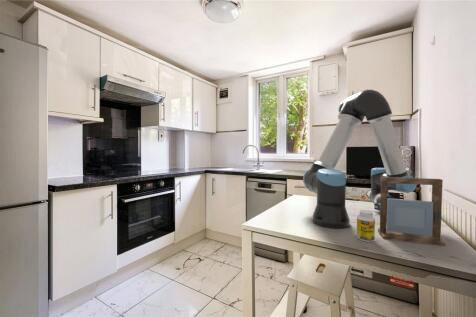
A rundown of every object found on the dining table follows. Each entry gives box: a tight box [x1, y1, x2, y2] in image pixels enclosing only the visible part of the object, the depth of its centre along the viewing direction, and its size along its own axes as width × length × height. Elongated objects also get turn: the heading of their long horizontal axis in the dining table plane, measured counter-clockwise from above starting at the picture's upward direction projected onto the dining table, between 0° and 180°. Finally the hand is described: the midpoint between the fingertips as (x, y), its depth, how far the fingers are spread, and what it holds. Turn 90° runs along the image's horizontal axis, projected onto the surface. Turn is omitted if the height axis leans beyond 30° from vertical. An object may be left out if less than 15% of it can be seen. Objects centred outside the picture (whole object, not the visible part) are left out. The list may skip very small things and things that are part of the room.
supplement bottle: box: [356, 209, 376, 243], centre depth 77 cm, size 6×6×10 cm
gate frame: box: [377, 177, 446, 247], centre depth 78 cm, size 18×8×22 cm, turn 69°
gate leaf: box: [386, 198, 433, 236], centre depth 77 cm, size 13×2×12 cm, turn 65°
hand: (405, 218), depth 79 cm, fingers closed, pressing on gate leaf
